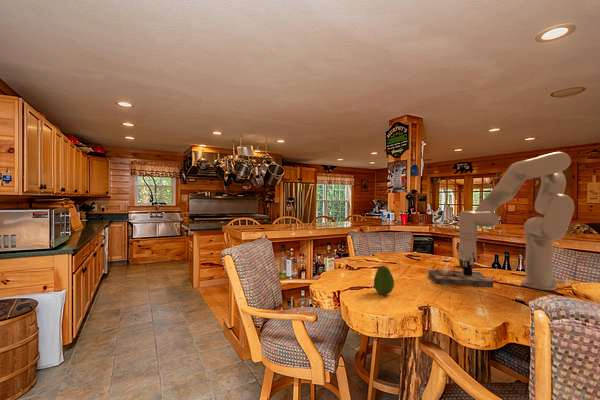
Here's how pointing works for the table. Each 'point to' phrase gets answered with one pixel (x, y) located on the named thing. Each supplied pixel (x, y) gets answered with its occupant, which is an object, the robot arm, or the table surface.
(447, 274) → the maple ball
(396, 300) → the table surface
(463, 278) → the track board
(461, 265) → the cup
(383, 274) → the avocado
